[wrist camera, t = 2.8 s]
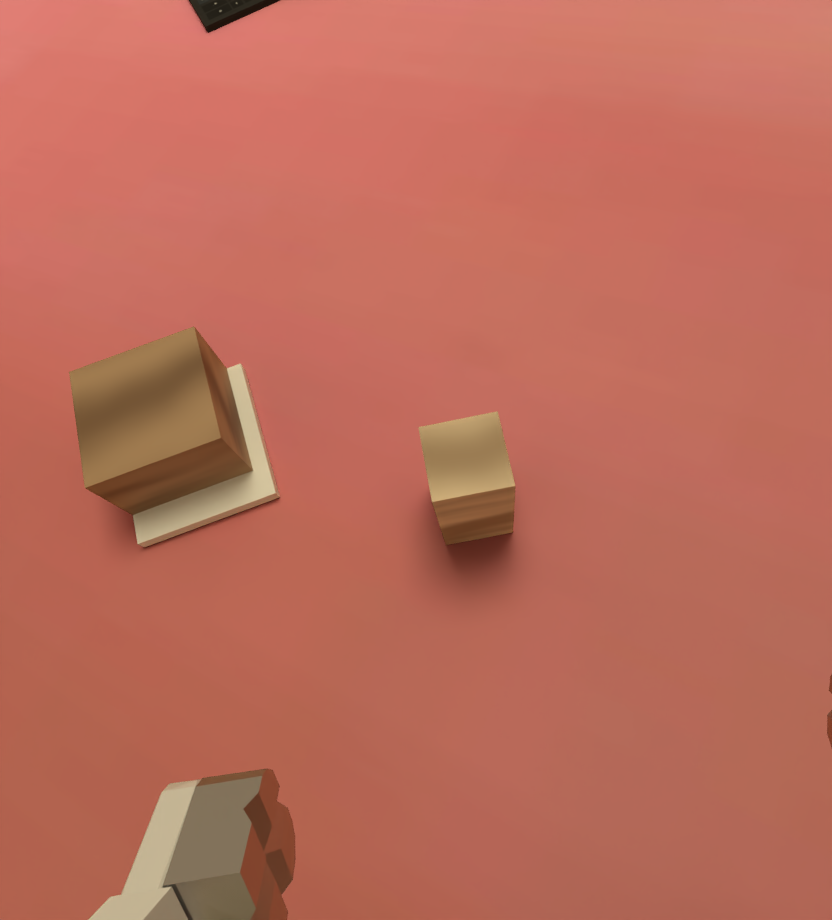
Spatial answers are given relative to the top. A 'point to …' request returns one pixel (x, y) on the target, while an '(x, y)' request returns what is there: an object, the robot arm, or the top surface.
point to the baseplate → (223, 495)
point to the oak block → (469, 477)
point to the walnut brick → (157, 423)
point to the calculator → (225, 10)
